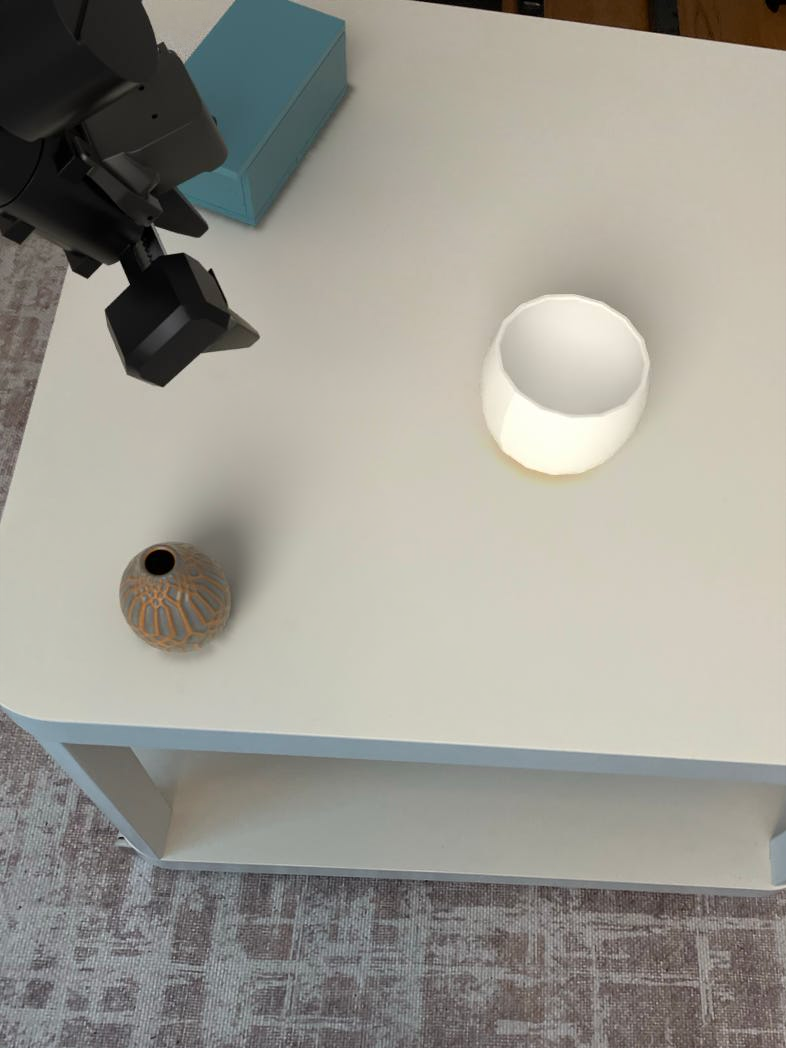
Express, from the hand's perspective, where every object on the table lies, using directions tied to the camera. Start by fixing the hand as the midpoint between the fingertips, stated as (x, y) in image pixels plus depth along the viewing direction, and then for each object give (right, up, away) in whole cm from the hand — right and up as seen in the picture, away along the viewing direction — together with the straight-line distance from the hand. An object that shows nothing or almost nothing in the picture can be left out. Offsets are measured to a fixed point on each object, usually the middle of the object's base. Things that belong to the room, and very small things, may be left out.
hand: (228, 284), depth 58 cm
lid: (-4, +24, +19) cm, 31 cm away
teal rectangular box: (-4, +23, +24) cm, 34 cm away
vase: (-4, -21, +6) cm, 22 cm away
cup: (+22, -6, +15) cm, 27 cm away
